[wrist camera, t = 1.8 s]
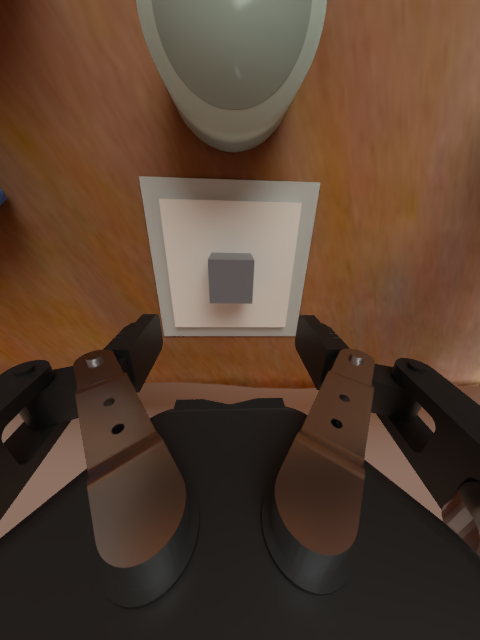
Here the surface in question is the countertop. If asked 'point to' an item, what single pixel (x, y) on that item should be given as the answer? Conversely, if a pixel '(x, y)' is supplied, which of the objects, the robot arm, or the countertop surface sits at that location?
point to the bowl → (232, 62)
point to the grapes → (2, 197)
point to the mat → (228, 192)
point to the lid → (229, 261)
